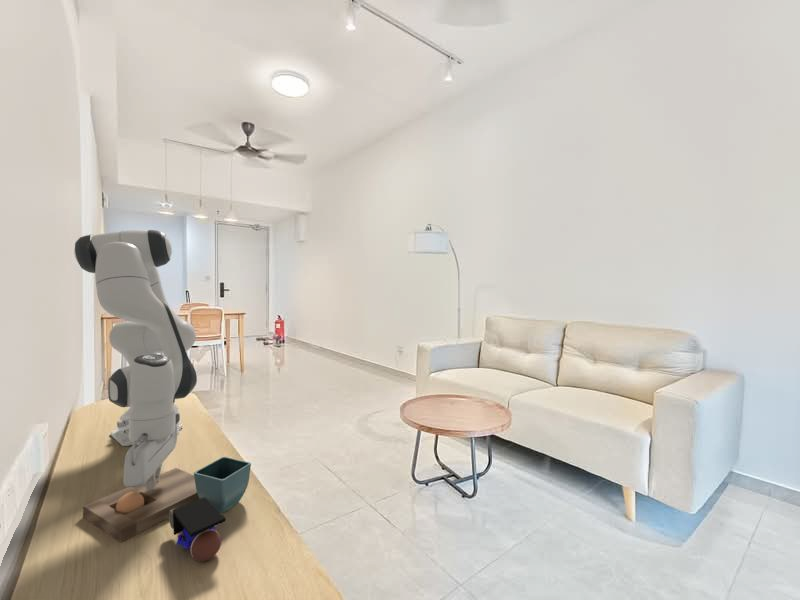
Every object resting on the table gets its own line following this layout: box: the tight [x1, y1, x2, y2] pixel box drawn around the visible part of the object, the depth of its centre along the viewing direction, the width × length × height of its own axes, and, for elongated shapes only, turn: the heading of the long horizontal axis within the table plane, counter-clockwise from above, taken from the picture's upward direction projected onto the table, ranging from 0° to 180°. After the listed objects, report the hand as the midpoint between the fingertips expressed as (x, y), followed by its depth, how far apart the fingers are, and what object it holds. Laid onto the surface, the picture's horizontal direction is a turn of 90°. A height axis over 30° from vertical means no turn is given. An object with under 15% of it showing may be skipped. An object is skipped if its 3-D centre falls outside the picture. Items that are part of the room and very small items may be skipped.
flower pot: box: [193, 456, 252, 514], centre depth 86 cm, size 9×9×9 cm
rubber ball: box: [116, 492, 145, 515], centre depth 82 cm, size 5×5×5 cm
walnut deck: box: [82, 467, 199, 543], centre depth 86 cm, size 16×20×2 cm
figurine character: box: [168, 497, 227, 562], centre depth 73 cm, size 7×8×15 cm
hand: (152, 486), depth 86 cm, fingers closed
